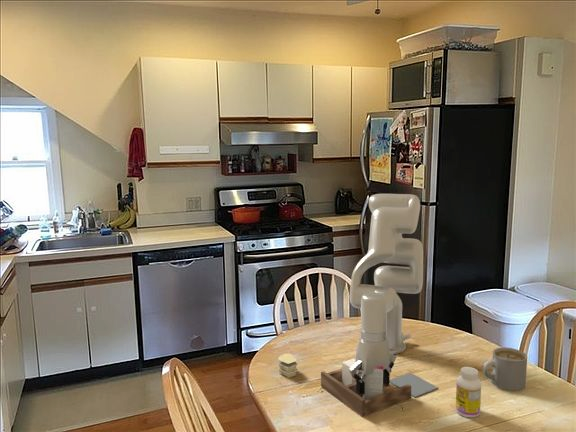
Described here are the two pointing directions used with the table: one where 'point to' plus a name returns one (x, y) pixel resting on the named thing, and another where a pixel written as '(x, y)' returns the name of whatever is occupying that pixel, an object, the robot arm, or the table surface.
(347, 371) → the off-white block
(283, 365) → the beige ridged block
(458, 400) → the supplement bottle
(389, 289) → the robot arm
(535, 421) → the table surface
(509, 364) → the coffee mug
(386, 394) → the lane rack
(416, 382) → the mat
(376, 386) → the supplement box
